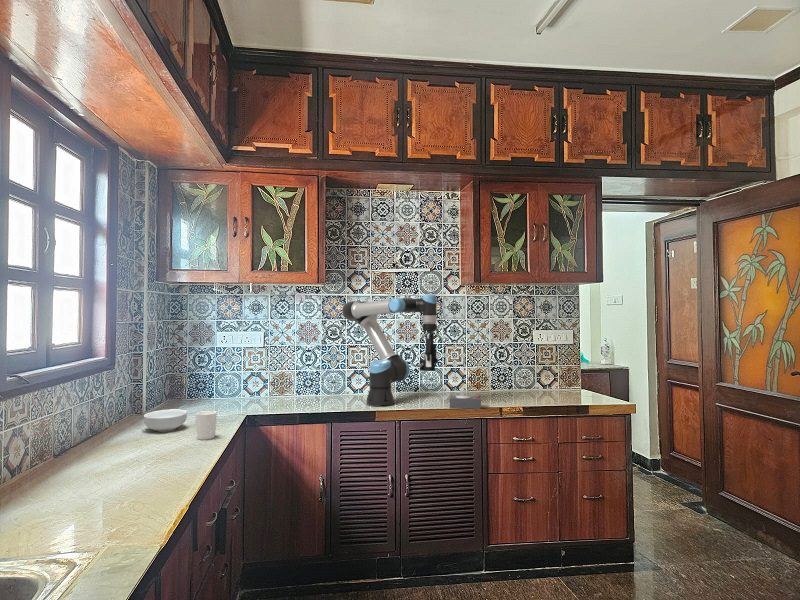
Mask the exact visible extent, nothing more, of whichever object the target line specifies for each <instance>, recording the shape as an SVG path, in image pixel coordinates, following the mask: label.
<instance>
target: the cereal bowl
mask: <svg viewBox="0 0 800 600" xmlns="http://www.w3.org/2000/svg"><path fill="white" fill-rule="evenodd" d="M187 414H188V413H187V410H185V409H177V408H176V409H175V408H174V409H170V408H169V409H161V410H155V411H150V412H147V413H145V414H143V421H144V422H143V424H145V426H146V427H147V428H148V429H150V430H154V431H156V432H159V433H161V432H162V433H164V432H172V431H174V430H176V429H177V428H179V427H181V426H183V424H184V423H186V420H187V417H188V415H187Z"/></svg>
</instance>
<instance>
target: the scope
mask: <svg viewBox="0 0 800 600" xmlns="http://www.w3.org/2000/svg"><path fill="white" fill-rule="evenodd" d="M436 364H439V359H438V358H437V344H434V345H431V367H426V355H423V359H420V360H419V364H418V367H419V371H420V372H422V371H424V372H425V371H426V372H436Z"/></svg>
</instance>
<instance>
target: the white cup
mask: <svg viewBox="0 0 800 600" xmlns="http://www.w3.org/2000/svg"><path fill="white" fill-rule="evenodd" d="M217 414H218V413H217V411H215V410H204V411H198V412H195V425H196V427H195V428H196V435H197V437H196V438H197V440H201V441H203V440H211V439H214V438H215V437H216V430H217V417H218V415H217Z"/></svg>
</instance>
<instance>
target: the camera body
mask: <svg viewBox="0 0 800 600" xmlns="http://www.w3.org/2000/svg"><path fill="white" fill-rule="evenodd" d="M449 409H465V410H466V409H469V410H482V396H481V395H479V394H478V395H477V394H476V395H475V396H474V395H467V394H464V395H463V394H458V395H450V397H449Z"/></svg>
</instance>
